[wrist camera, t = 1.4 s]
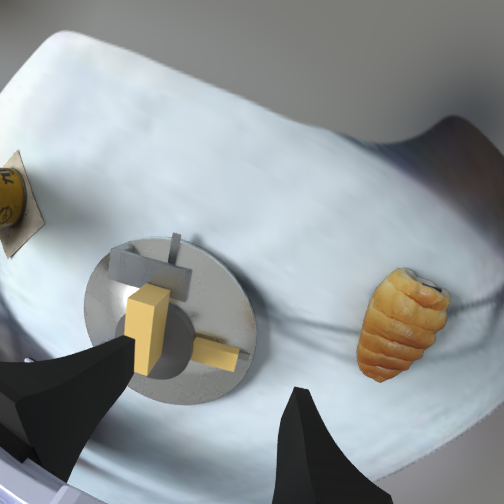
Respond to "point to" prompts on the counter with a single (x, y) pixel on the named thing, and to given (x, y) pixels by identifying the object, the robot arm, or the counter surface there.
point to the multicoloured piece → (167, 337)
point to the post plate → (185, 298)
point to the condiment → (16, 206)
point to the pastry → (400, 324)
